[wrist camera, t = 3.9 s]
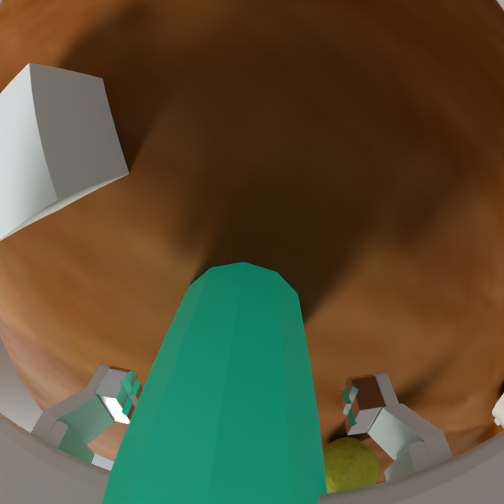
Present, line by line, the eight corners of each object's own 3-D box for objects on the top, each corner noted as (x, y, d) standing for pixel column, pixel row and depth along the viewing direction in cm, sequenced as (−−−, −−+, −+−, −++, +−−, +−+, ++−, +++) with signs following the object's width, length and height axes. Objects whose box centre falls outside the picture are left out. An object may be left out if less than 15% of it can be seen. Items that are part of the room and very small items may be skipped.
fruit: (364, 447, 20) (381, 545, 9) (307, 456, 20) (312, 559, 9) (379, 420, 17) (406, 539, 6) (312, 431, 18) (321, 560, 7)
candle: (179, 257, 12) (36, 527, 1) (310, 266, 12) (380, 577, 1) (188, 351, 15) (131, 552, 4) (292, 360, 14) (305, 572, 3)
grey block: (103, 78, 9) (29, 62, 4) (130, 173, 11) (57, 199, 6) (37, 127, 10) (-33, 137, 5) (60, 209, 12) (-6, 244, 7)
